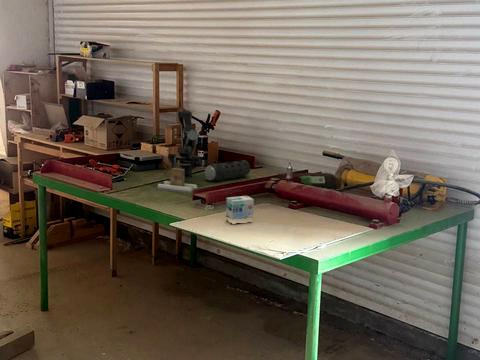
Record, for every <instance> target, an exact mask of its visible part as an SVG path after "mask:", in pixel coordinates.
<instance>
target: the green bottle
mask: <svg viewBox="0 0 480 360" xmlns="http://www.w3.org/2000/svg"><path fill="white" fill-rule="evenodd" d="M287 174H288V173H277V177H274V178H273V177H271V178H270V181H271V180H281V179H284V178H286V176H287ZM291 174H292V175H293V177H298V178H301V182H302V183H304V184H307V185H312V186H318V187H321V188H327V189H334V190H336V189H340V188H341V189H342V183H343V182H341V181H340V180H339V179H338V177H336V176H337V175H335V174H333V173H332V172H304V173H303V172H302V173H300V172H299V173H291ZM341 189H340V190H341Z"/></svg>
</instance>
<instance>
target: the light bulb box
mask: <svg viewBox="0 0 480 360" xmlns="http://www.w3.org/2000/svg"><path fill="white" fill-rule="evenodd" d="M225 202H226V204H225V205H226V207H225V218H226V217H228V218H230V219H232V220H234V219H246V218H253V219H254V202H255V200H254V198H252V197H250V196H249V195H241V196H231V197H226V201H225Z"/></svg>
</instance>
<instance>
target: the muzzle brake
mask: <svg viewBox="0 0 480 360" xmlns="http://www.w3.org/2000/svg"><path fill="white" fill-rule="evenodd" d="M250 171H251V165H250V163H249V161H247V160H246V159H243V160H236V161H229V162H223V163H222V162H221V163H212V164H209V165H207V166H206V167H205V169H204V175H205V178H206V179H207V180H208V181H212V182H214V181H216V182H221V181H220V180H222V181H223V180H226V179H229V178H231V179H236V178H235V177H239V178H242V177H241V176H248V175H249V174H250Z"/></svg>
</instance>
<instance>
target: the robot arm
mask: <svg viewBox="0 0 480 360" xmlns="http://www.w3.org/2000/svg"><path fill="white" fill-rule="evenodd" d="M176 119H177V121H178V122H177V123H178V124H179V125H180V132H181V134H180V135H181V146H180V145H179V146H178V147H177V150H176V152H177V153H178V155H179V156H177V154H176V153H168V154H167V159H168V161H169V163H171V169H172V168H177V165H178V167H179V169H184V178H189V177H193V174H192V172H193V170H195V169H196V168H198V167H201V166H202V165H203V161H202V159H201V157H200V156H198V155H195V154H194V152H195V149H196V146H197V142H198V138H199V134H198V131H196V128H195V127H194V126H193V123H192V119H193V112H192V111H190V110H183V111H181V110H180V111H178V112H177V113H176Z"/></svg>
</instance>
